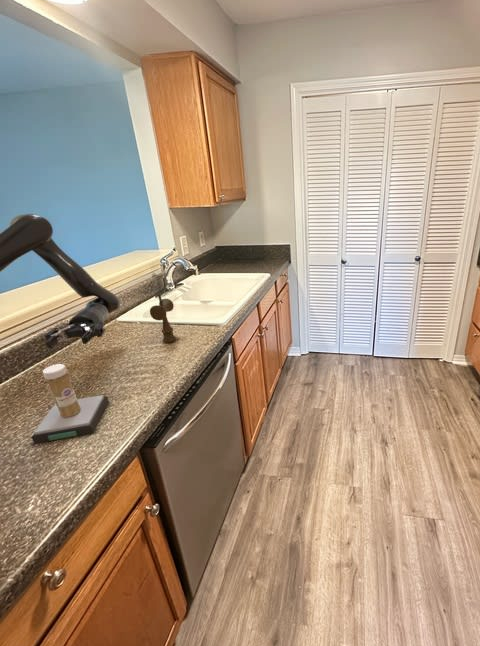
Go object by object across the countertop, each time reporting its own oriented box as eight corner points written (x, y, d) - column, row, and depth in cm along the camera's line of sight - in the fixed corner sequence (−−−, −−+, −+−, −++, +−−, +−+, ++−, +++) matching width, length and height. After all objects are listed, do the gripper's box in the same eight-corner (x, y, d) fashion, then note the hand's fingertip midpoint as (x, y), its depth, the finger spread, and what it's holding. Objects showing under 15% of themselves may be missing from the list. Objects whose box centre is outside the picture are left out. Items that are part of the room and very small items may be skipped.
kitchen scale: (33, 445, 78) (29, 435, 77) (58, 410, 90) (54, 402, 89) (92, 434, 80) (89, 424, 79) (108, 402, 92) (106, 393, 91)
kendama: (157, 346, 124) (145, 297, 116) (166, 336, 133) (156, 289, 125) (173, 346, 124) (161, 296, 116) (181, 335, 133) (171, 288, 125)
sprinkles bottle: (70, 419, 81) (52, 373, 76) (56, 417, 82) (37, 372, 77) (85, 408, 86) (69, 363, 80) (71, 406, 87) (54, 362, 81)
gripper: (59, 313, 101) (32, 334, 86) (108, 308, 104) (90, 327, 89) (66, 335, 104) (41, 358, 89) (114, 329, 107) (98, 351, 92)
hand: (66, 343), depth 89 cm, fingers open, 8 cm apart
